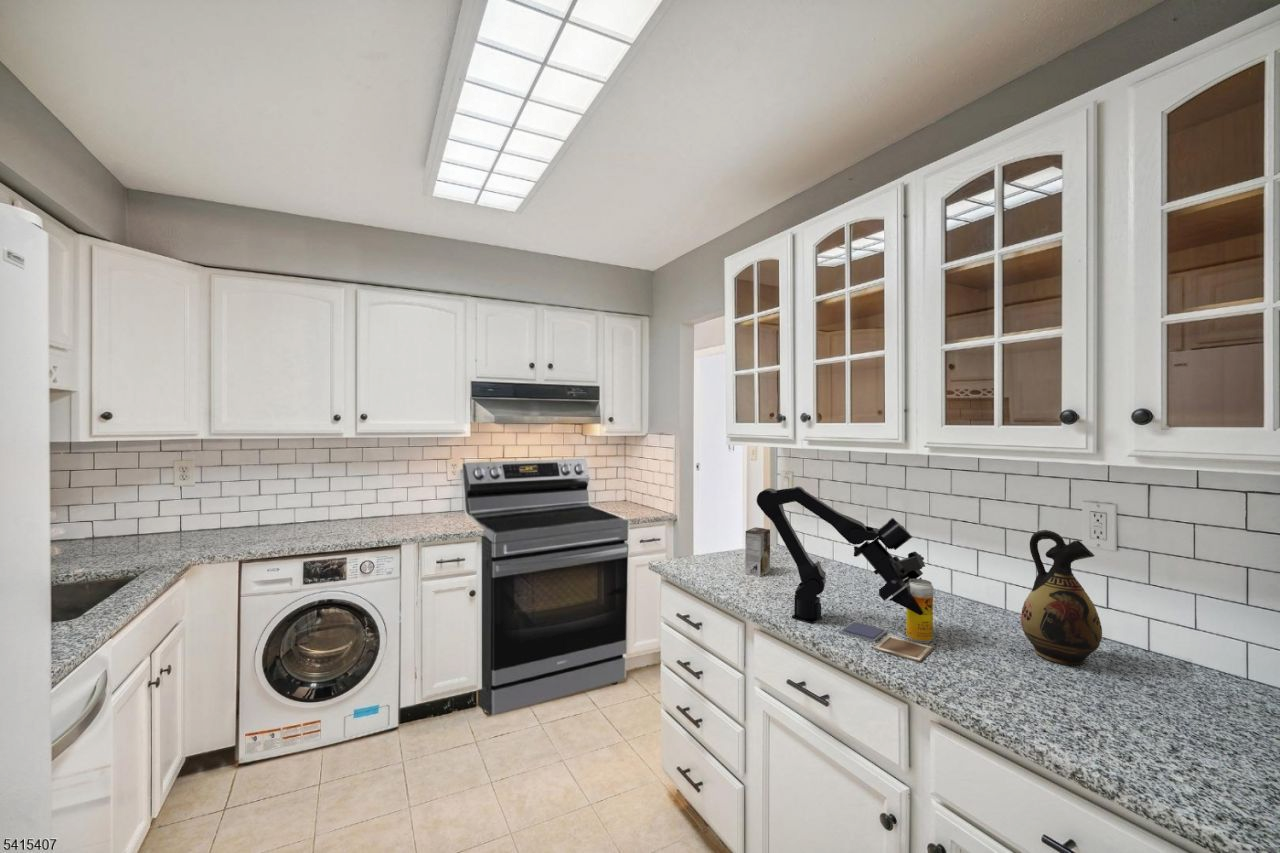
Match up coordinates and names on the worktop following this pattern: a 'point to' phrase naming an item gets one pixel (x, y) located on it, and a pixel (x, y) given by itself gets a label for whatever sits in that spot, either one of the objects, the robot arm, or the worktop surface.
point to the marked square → (903, 648)
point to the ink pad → (863, 631)
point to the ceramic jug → (1060, 606)
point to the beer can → (922, 625)
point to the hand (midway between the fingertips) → (925, 611)
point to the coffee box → (757, 551)
